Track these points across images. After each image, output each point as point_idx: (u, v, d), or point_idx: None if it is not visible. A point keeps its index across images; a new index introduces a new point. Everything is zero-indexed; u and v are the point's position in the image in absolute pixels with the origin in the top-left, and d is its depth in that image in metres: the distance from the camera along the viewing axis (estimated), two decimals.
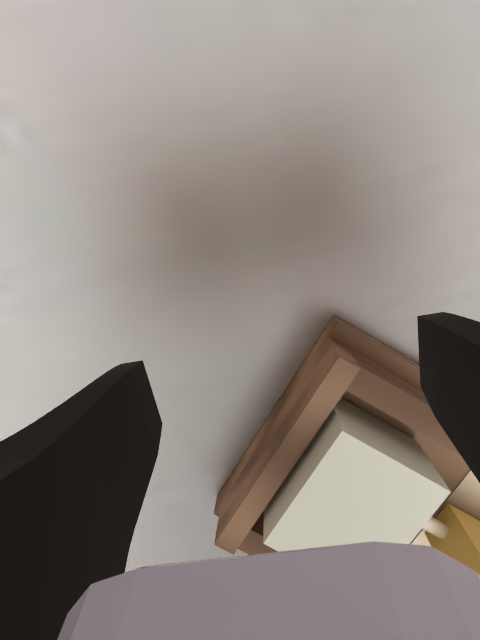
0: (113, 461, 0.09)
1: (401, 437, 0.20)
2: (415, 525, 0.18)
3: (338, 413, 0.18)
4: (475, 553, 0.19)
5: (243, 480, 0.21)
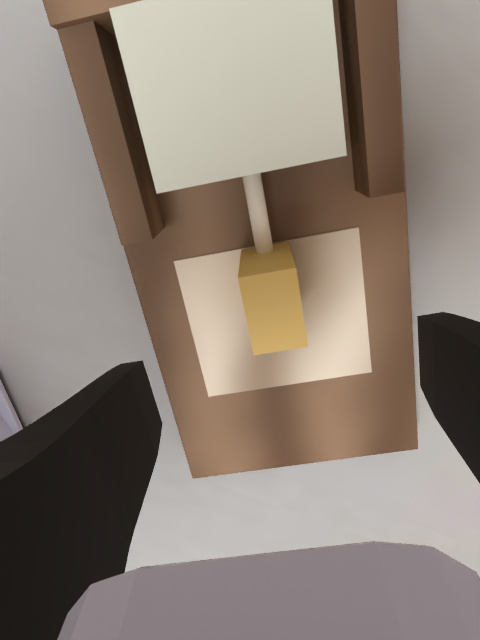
0: (113, 461, 0.09)
1: None
2: (280, 158, 0.13)
3: None
4: (289, 261, 0.15)
5: None
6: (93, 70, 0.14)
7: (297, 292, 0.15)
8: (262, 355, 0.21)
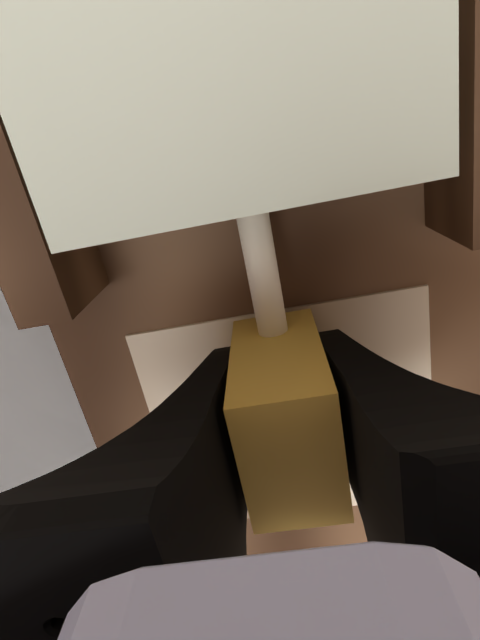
0: (231, 445, 0.09)
1: None
2: (313, 182, 0.06)
3: None
4: (321, 370, 0.08)
5: None
6: None
7: (338, 435, 0.08)
8: None
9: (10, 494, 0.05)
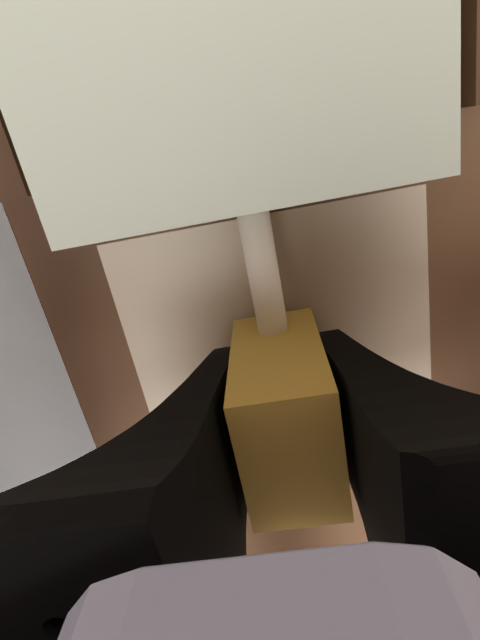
0: (231, 445, 0.09)
1: None
2: (314, 181, 0.06)
3: None
4: (321, 370, 0.08)
5: None
6: None
7: (338, 434, 0.08)
8: None
9: (10, 494, 0.05)
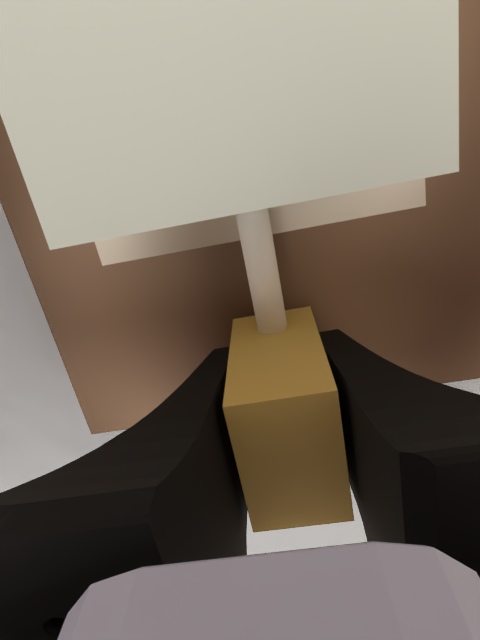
0: None
1: None
2: (312, 178, 0.06)
3: None
4: (321, 368, 0.08)
5: None
6: None
7: (338, 432, 0.08)
8: None
9: (10, 494, 0.05)
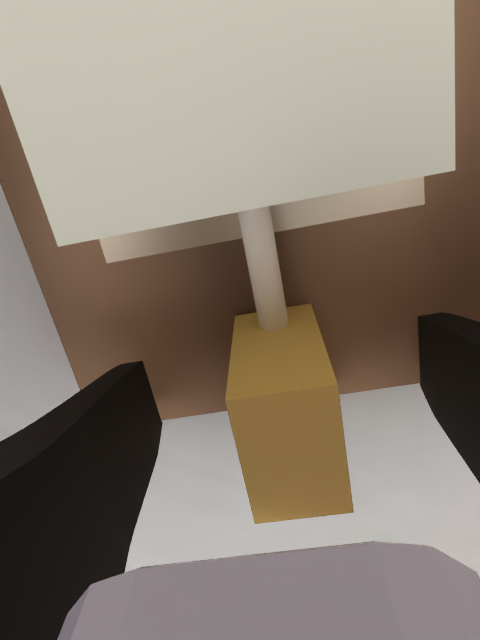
0: (113, 461, 0.09)
1: None
2: (313, 177, 0.06)
3: None
4: (321, 362, 0.08)
5: None
6: None
7: (337, 425, 0.08)
8: None
9: None
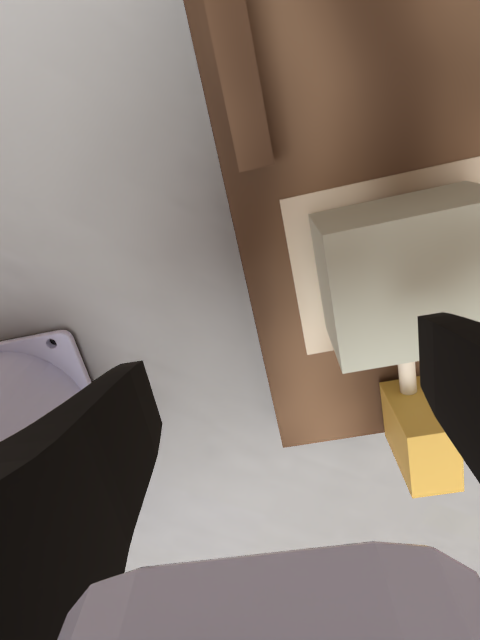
0: (113, 461, 0.09)
1: None
2: None
3: None
4: None
5: None
6: None
7: None
8: None
9: None
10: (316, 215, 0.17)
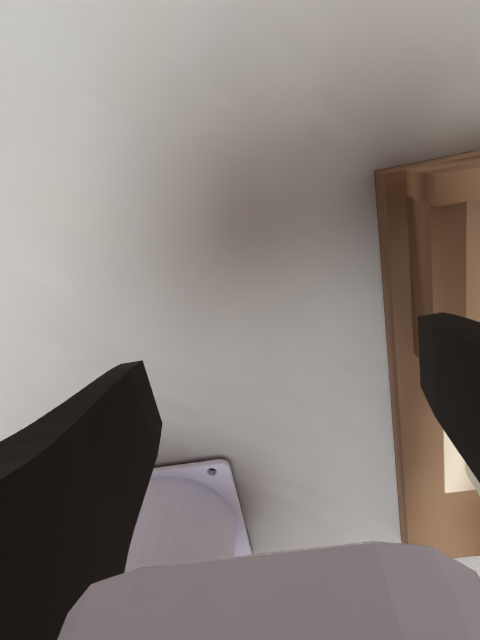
0: (113, 461, 0.09)
1: None
2: None
3: None
4: None
5: None
6: (453, 238, 0.15)
7: None
8: None
9: None
10: None
